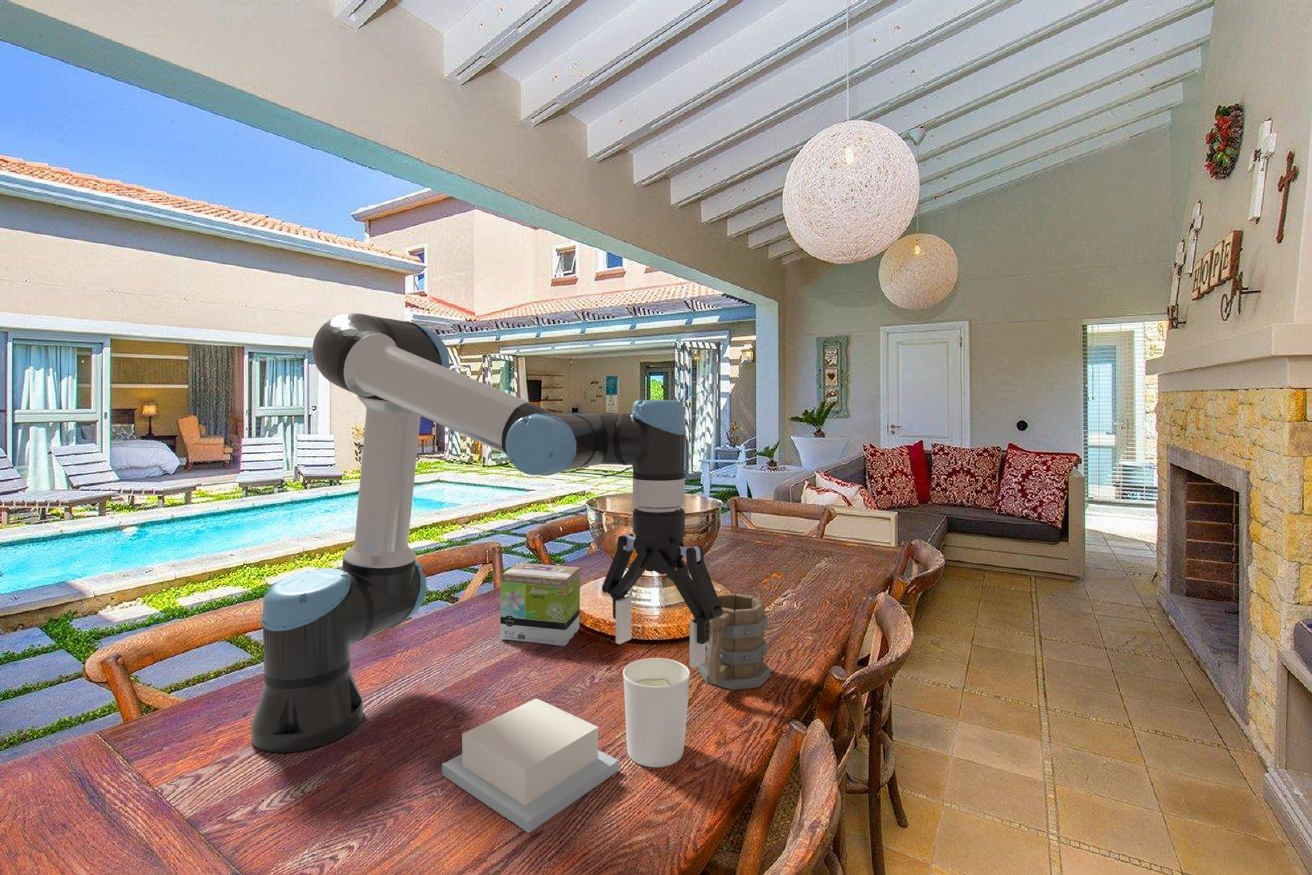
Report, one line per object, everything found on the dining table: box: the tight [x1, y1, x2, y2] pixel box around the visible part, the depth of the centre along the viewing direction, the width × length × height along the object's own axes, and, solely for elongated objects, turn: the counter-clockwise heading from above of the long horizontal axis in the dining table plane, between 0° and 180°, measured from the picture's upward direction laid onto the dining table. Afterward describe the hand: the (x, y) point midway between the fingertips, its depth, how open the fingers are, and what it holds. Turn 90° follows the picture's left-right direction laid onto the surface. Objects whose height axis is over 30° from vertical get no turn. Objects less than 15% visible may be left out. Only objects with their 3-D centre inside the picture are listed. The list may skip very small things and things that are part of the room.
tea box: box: [499, 562, 581, 647], centre depth 133 cm, size 15×10×15 cm
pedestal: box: [441, 697, 620, 834], centre depth 84 cm, size 18×16×6 cm
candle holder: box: [622, 657, 691, 768], centre depth 89 cm, size 10×10×12 cm
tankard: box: [697, 592, 771, 691], centre depth 112 cm, size 20×13×15 cm, turn 149°
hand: (658, 652), depth 89 cm, fingers open, 13 cm apart
